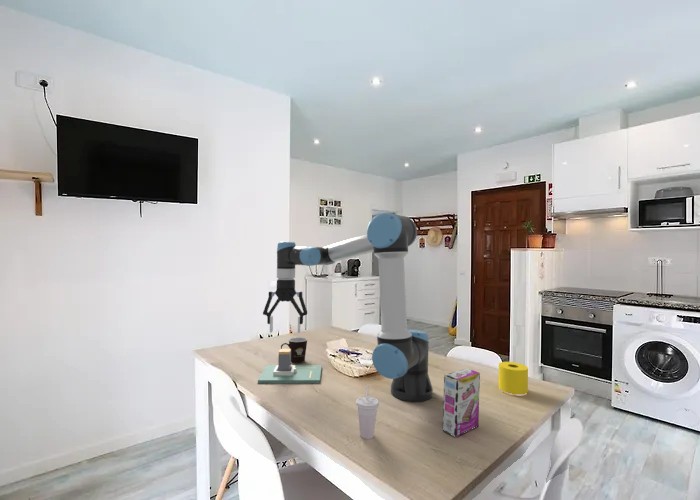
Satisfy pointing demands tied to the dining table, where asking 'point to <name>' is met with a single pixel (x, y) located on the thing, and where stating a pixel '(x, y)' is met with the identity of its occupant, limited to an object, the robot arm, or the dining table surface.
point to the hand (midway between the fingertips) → (285, 331)
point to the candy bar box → (461, 401)
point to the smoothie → (367, 415)
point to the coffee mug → (297, 349)
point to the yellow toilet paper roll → (513, 377)
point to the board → (291, 374)
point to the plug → (284, 360)
